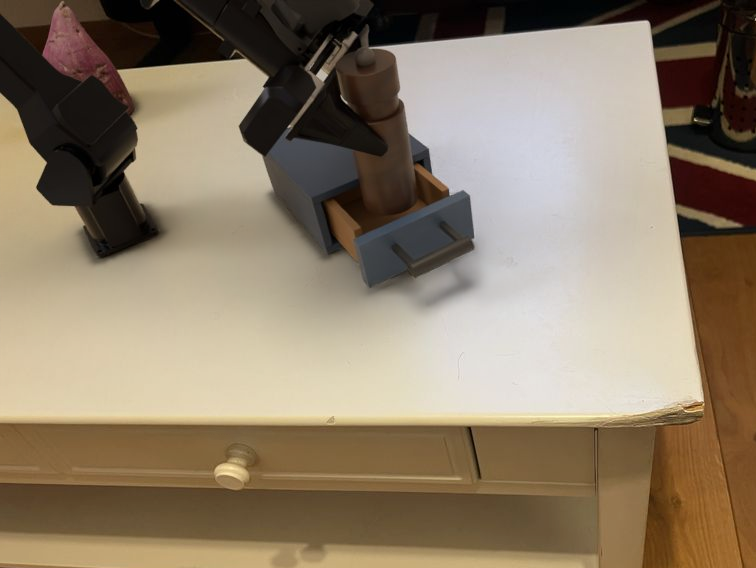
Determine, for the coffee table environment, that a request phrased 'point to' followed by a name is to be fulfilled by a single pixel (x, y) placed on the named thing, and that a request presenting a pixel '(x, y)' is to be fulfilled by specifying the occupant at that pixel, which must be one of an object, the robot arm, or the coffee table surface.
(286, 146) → the cabinet
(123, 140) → the robot arm
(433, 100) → the coffee table surface
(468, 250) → the drawer
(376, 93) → the pepper mill
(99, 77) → the vegetable
